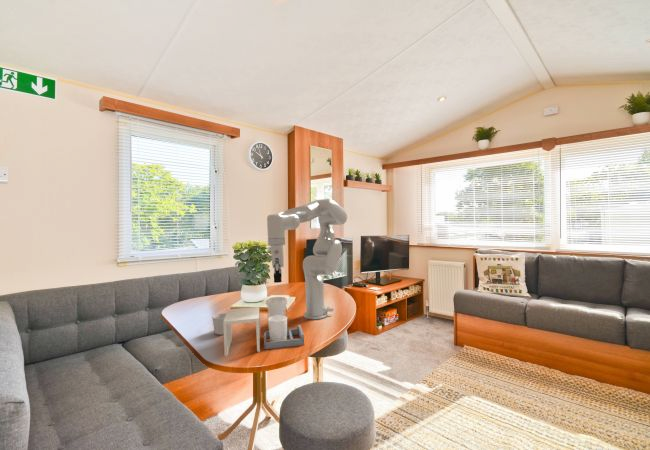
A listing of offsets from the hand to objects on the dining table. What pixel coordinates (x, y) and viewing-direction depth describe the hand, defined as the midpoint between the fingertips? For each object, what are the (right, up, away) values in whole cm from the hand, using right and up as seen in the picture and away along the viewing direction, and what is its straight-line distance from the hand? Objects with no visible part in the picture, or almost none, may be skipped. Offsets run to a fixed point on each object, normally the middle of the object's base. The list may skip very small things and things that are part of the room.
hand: (278, 280), depth 136 cm
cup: (-26, -25, +4) cm, 36 cm away
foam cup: (-2, -24, +9) cm, 26 cm away
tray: (+4, -24, -9) cm, 26 cm away
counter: (-12, -25, -12) cm, 30 cm away
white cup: (+2, -24, -10) cm, 26 cm away
